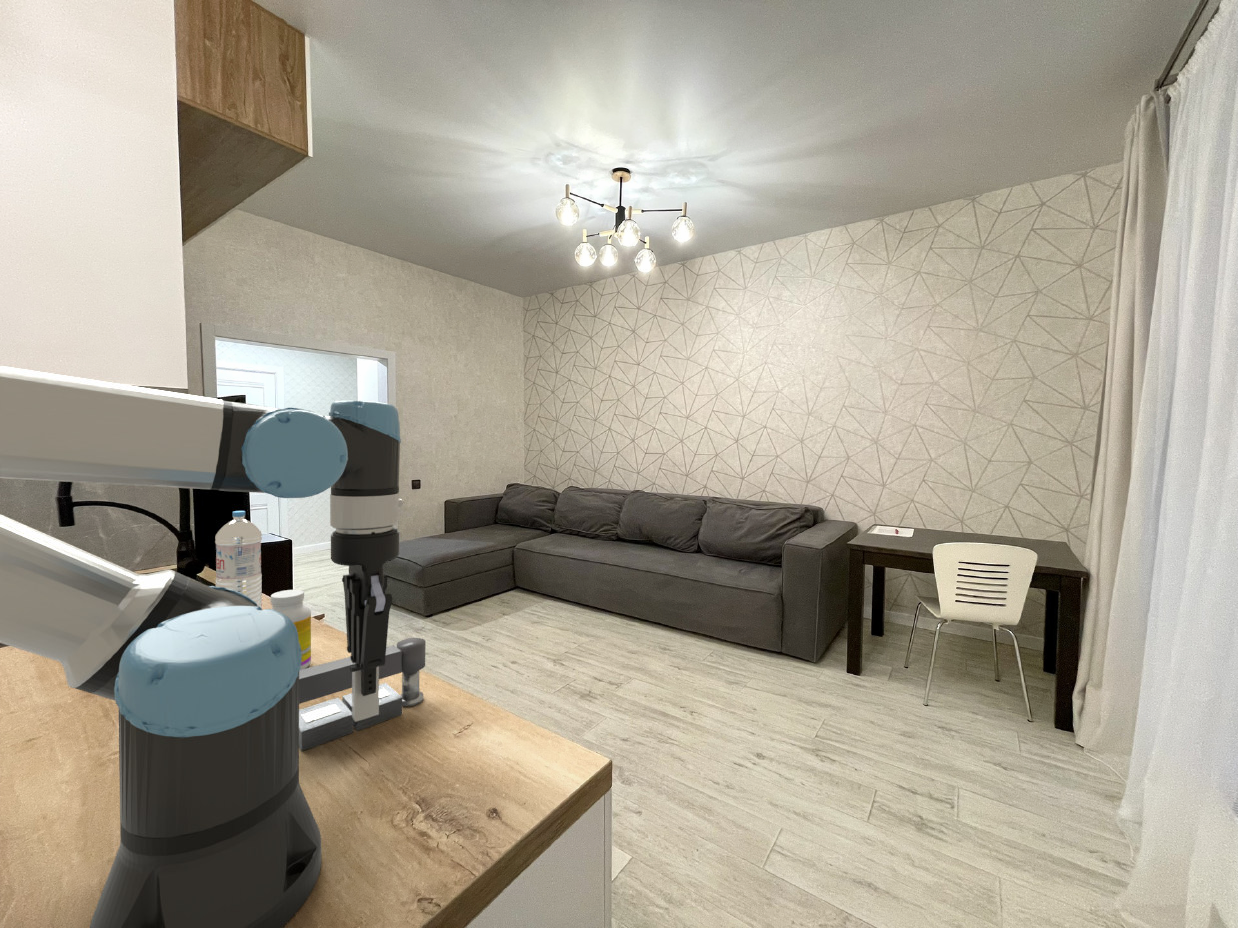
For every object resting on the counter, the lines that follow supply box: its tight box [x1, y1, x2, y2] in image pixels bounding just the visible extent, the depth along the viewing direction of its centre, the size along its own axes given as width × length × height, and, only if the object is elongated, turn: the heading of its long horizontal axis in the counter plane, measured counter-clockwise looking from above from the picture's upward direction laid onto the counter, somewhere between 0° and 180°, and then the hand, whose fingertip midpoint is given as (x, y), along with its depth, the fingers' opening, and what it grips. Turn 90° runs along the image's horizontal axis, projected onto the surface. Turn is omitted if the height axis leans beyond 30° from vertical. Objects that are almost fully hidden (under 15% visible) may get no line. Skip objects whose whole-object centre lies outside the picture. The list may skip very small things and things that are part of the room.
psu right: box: [341, 682, 403, 732], centre depth 72 cm, size 6×6×3 cm
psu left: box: [299, 696, 354, 752], centre depth 67 cm, size 6×6×3 cm
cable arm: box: [299, 637, 427, 705], centre depth 71 cm, size 17×4×4 cm, turn 136°
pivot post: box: [399, 670, 424, 708], centre depth 75 cm, size 4×4×5 cm
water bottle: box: [214, 510, 263, 610], centre depth 93 cm, size 7×7×25 cm
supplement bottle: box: [270, 589, 312, 670], centre depth 84 cm, size 7×7×13 cm
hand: (365, 715), depth 63 cm, fingers closed
